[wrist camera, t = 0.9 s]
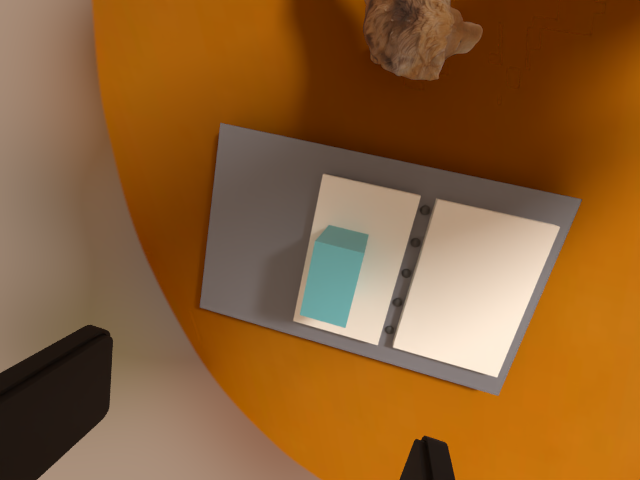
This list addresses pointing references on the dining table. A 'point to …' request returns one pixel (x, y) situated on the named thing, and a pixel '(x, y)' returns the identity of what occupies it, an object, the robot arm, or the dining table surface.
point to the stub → (354, 257)
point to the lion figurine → (416, 35)
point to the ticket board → (417, 265)
